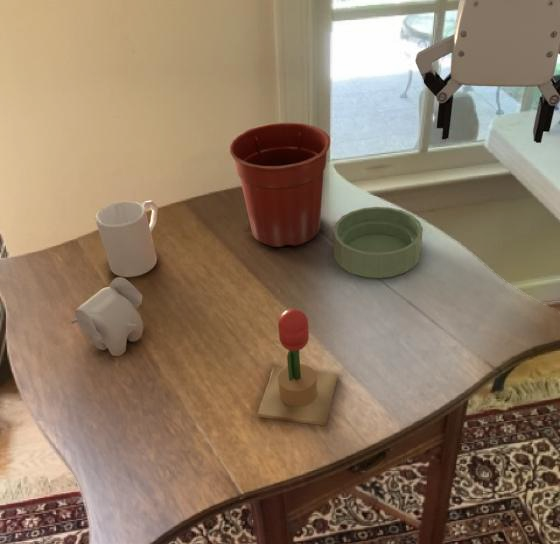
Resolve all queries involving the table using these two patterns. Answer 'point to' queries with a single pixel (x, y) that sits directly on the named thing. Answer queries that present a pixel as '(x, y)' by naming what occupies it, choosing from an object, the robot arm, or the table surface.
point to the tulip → (295, 361)
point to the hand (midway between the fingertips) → (490, 135)
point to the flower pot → (282, 180)
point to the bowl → (377, 242)
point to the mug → (128, 237)
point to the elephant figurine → (112, 316)
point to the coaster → (305, 414)
